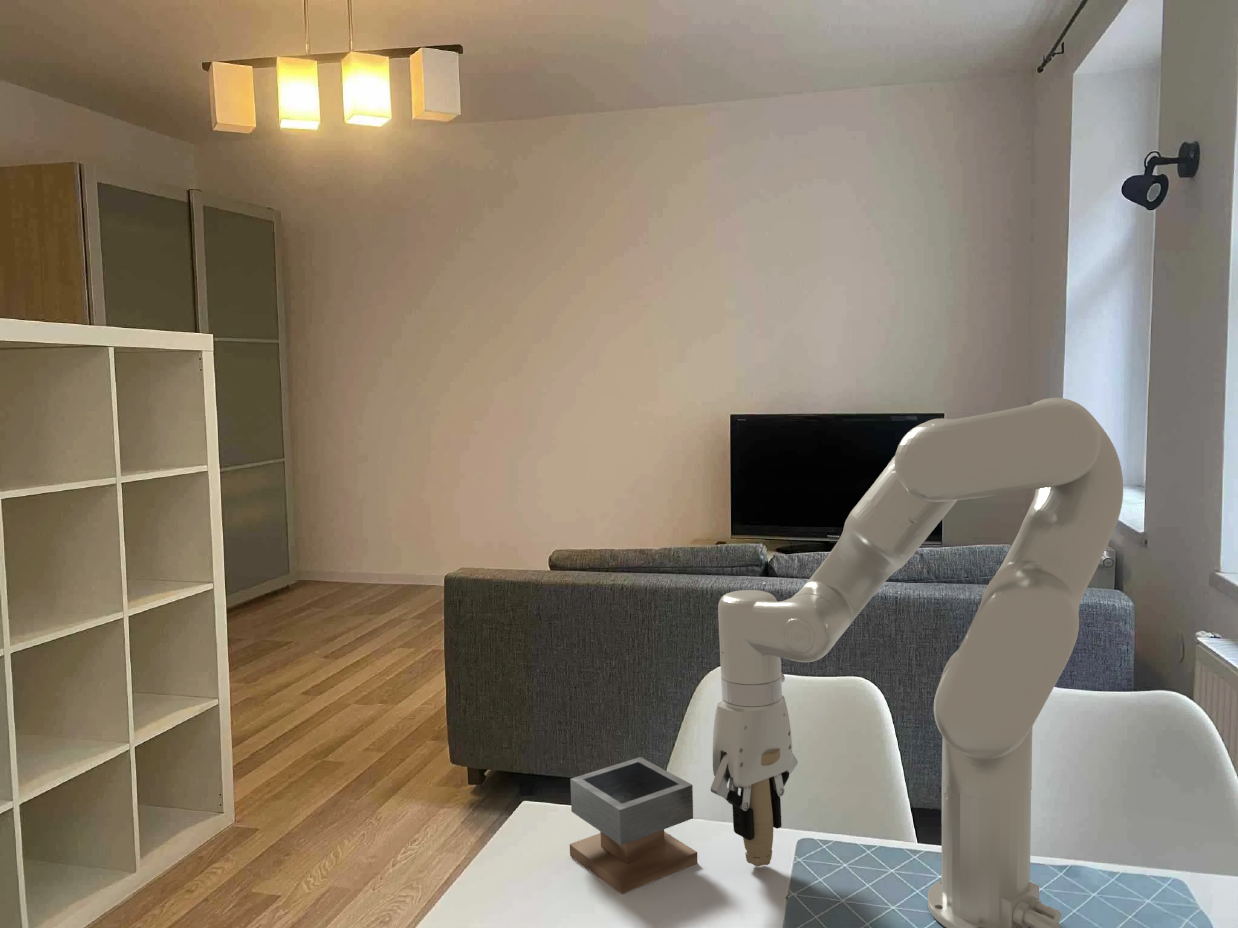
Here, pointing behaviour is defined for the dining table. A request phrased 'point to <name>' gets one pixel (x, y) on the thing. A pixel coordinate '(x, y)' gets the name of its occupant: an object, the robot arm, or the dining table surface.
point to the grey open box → (631, 800)
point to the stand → (633, 859)
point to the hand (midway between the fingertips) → (757, 828)
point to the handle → (761, 817)
